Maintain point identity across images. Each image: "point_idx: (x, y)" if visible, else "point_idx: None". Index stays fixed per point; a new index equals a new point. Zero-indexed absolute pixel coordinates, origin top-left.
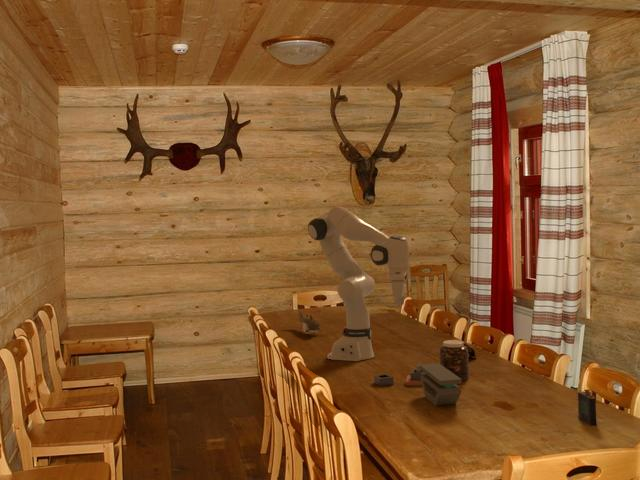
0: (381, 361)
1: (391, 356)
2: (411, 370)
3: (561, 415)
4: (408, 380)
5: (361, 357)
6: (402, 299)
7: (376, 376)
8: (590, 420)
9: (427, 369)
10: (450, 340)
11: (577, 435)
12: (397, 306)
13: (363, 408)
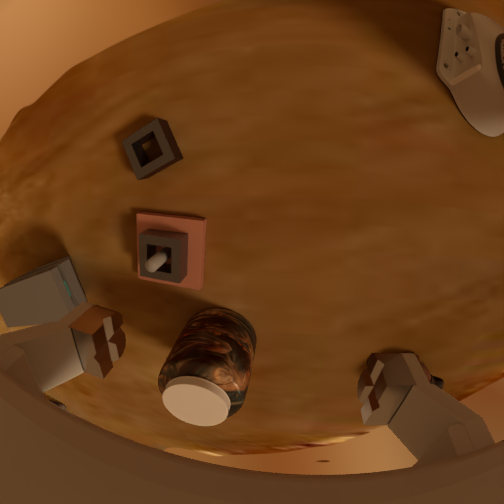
0: (436, 145)
1: (483, 186)
2: (167, 238)
3: (62, 395)
4: (146, 222)
5: (452, 86)
6: (403, 422)
7: (146, 127)
8: None
9: (27, 283)
10: (219, 406)
11: None
12: (74, 311)
13: (18, 143)
